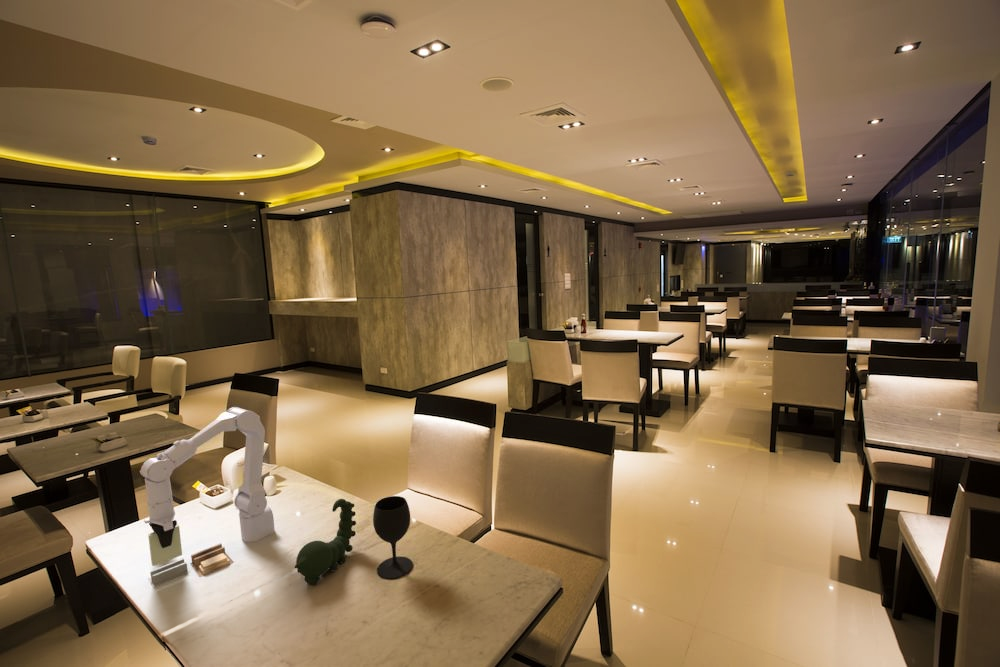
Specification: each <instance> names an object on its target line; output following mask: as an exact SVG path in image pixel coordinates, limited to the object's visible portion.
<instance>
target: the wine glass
mask: <svg viewBox="0 0 1000 667" xmlns="http://www.w3.org/2000/svg"><path fill="white" fill-rule="evenodd" d="M372 520H373V521H372V522H373V528H374V532H375V534H376V535H377V536H378V537H379V538H380V539H381V540H383V541H384V542H385V543H388V544H390V545H391V553H392V557H389V558H387V559H384V560H383V561H382V562H381V563H379V564H378V566H377V568H376V574H377V575H378V576H379V577H380V578H381V579H383V580H398V579H401V578H403V577H405V576H407V575H408V574H409V573H411V571H412V570H413V568H414V564H413V560H412V559H410V558H409V557H406V556H399V555H398V556H397V550H396V549H397V546H396V545H397V543H398V542H400V541H401V540H402V539H403V538H404V536H405V535H407V532H408V531H409V528H410V524H411V511H410V507H409V504H408V501H407V500H406V498H405V497H403V496H399V495H391V496H386V497H384V498H380V499H379V500H377V502H376V503H375V505H374V510H373V515H372Z"/></svg>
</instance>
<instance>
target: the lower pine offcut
mask: <svg viewBox="0 0 1000 667" xmlns="http://www.w3.org/2000/svg"><path fill="white" fill-rule="evenodd" d="M225 556H226V555H225ZM229 563H230V560H229V559H228V558H227V561H225V562H223V563H221V564H218V565H216V566H214V567H211V568H209V569H206V570H204V569H203V568H202V566H201V565H200V566H199V570H200V571H201V572H202V574H206V573H208V572H211V571H213V570H215V569H218V568H220V567H222V566H225V565H227V564H229ZM229 565H230V564H229ZM227 566H228V565H227ZM225 567H226V566H225ZM222 568H223V567H222ZM220 569H221V568H220ZM218 570H219V569H218ZM215 571H216V570H215ZM213 572H214V571H213ZM211 573H212V572H211ZM208 574H209V573H208ZM206 575H207V574H206Z"/></svg>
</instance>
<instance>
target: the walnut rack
mask: <svg viewBox="0 0 1000 667" xmlns="http://www.w3.org/2000/svg"><path fill="white" fill-rule="evenodd" d="M222 553H224V554H225V555H226V557H227V558H228V559H229V560H230V563H229V564H227V565H225V566H222V567H220V568H218V569H215V570H213V571H211V572H208V573H206V574H202V572H201V571H200V570H199V566H200V565H201V562H202V561H205V560H207V559H210V558H212V557H215V556H217V555H219V554H222ZM190 558H191V559H190V560H191V562H190V563H189V564H190V566H191V567H192V569H193V570H194V571H195V573H196V574H197V575H198V577H199V578H201V577H203V576H206V575H208V574H210V573H213V572H215V571H217V570H220V569H222V568H225V567H227V566H229V565H232V564H234V563H235V561H233V559H232V558H231V557H230V556H229V555H228V554H227V553H226V548H225V546H223V544H222V543H221V542H220V543H217V544H215V545H213V546H210V547H208V548H205V549H203V550H200V551H198V552H195V553H193V554H191V555H190Z"/></svg>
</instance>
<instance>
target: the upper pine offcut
mask: <svg viewBox="0 0 1000 667" xmlns="http://www.w3.org/2000/svg"><path fill="white" fill-rule="evenodd" d="M225 561H227V557H226V556H225V554H224V553H222V554H219V555H217V556H215V557H212V558H210V559H207V560H205V561H202V562H201V566H202V568H203V569H204V570H206V569H209V568H211V567H214V566H216V565H218V564H221V563H223V562H225Z"/></svg>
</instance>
